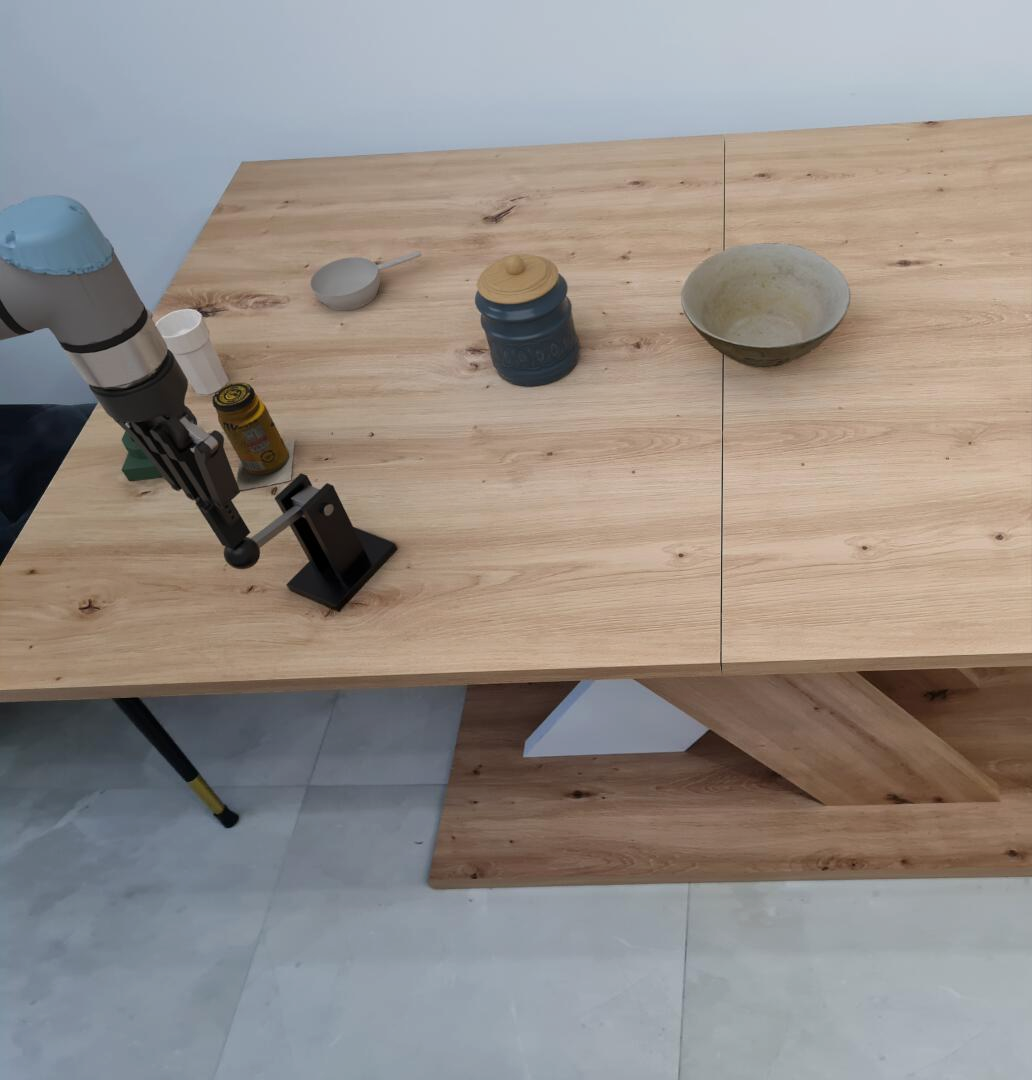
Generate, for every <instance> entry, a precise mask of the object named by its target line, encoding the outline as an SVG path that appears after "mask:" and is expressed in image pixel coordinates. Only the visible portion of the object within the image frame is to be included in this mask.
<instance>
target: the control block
mask: <svg viewBox="0 0 1032 1080" xmlns="http://www.w3.org/2000/svg"><path fill="white" fill-rule="evenodd" d="M121 442H122V444H123V446H124V448H125V449H126V451H127V455H126V457H125V459H124V462H123V465H122V467H121V472H122V473H123V475H124V476H125V477H126V479H127V481H128V482H135V481H143V480H151V479H158V478H160V479H161V478H164V477H163V476H162V474H161V473H160V472H159V471H158V469H157V468H156V467H155V466H154V465H153V463H152V462H151V461H150V460H149V458H148V457H147V456H146V455H145V453H144V452H143V451H142V450H141V449H140V447H139V446H138V445H137V444H136V442H135V441H134V440H133V439H132V438H131V436H130V435H129V434H128V433H127V432H126V431H125V430H124V433H123V435H122V437H121Z"/></svg>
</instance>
